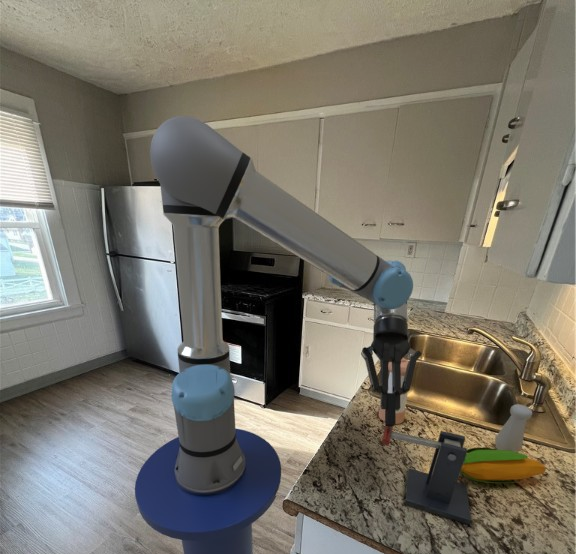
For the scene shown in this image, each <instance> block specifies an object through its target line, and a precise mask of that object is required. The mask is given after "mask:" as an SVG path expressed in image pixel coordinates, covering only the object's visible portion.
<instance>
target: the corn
mask: <svg viewBox="0 0 576 554" xmlns="http://www.w3.org/2000/svg"><path fill="white" fill-rule="evenodd" d="M546 470H547V466H545V465H544V464H543V463H541V462H540V461H539V460H536V459H532V458H529V457H528V455H527V454H524V453H520V452H513V451H505V450H498V449H497V448H491V447H484V446H483V447H471V448H467V454H466V457H465V460H464V463H463V465H462V468H461V471H460V474H461V475H462V476H464V477H465V478H467V479H470V480H472V481H475V482H478V483H479V482H480V483H487V484H514V483H515V484H516V483H518V484H519V481H515V480H523V479H527V478H531V477H536V476H539V475H543V474H544V473H545V472H546Z"/></svg>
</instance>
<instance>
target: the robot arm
mask: <svg viewBox="0 0 576 554" xmlns="http://www.w3.org/2000/svg"><path fill="white" fill-rule="evenodd" d="M150 143H151V144H150V148H149V155H150V156H149V157H150V163H151V167H152V171H153V173H154V175H155V177H156V179H157V181H158V183H159V185H160V194H161V204H162V212H163V214H162V215H163V217H165V218H166V219H167V220H168V221H169V222H170V224H171V225H172V227H173V228H172V229H173V239H174V240H173V241H174V250H175V261H176V273H177V285H178V295H179V306H180V315H181V316H180V317H181V328H182V336H183V337H182V338H183V341H182V342H181V343H180V344H179V345H178V347H177V348H176V349H177V350H176V351H177V361H178V370H179V372H178V374H177V375H176V376H175V377H174V379H173V381H172V384H171V395H170V397H171V402H172V405H173V409H174V416H175V417H174V418H175V422H176V430H177V435H178V436H177V437H179V443H180V449H179V453H178V455H177V456H176V458H177V460H176V464H175V477H176V482H177V484H178V486H179V487H180V488H181V489H182V490H183V491H185V492H187V493H189V494H192V495H196V496H213V495H217V494H221V493H223V492H226V491H228V490H229V489H231V488H233V487H234V486H235V485H236V484H238V483H239V481H240V480H241V479H242V477H243V476H244V473H245V469H246V463H245V456H244V454H243V452H242V450H241V448H240V446H239V444H238V441H237V439H236V429H237V428H236V412H235V411H236V410H235V385H234V383H233V382H234V381H233V379H232V376H231V356H230V345H229V344H228V343H227V342H226V341H225V340H223V315H222V314H223V313H222V291H221V290H222V288H221V285H222V284H221V260H220V259H221V257H220V232H219V231H220V229H219V228H220V226H221V225H222V223H223V222H225V220H228V219H235V220H236V221H238V222H240V223H242V224H244V225H245V226H247V227H248V228H250V229H251V230H253V231H255V232H257V233H258V234H260V235H261V236H263V237H265V238H267V240H269V241H271V242H273V243H275V245H278V246H280V247H281V248H283V249H285V250H286V251H288V252H290V253H292V254H293V255H294V256H296V257H297V258H300V259H301V260H303V261H304V262H306V263H307V264H309V265H311V266H312V267H314V268H315V269H317V270H319V271H321V272H322V273H324V274H326V275H327V276H328V279H329V282H330V283H331V284H333V285H335V286H336V287H337V286H338V287H339V288H340V289H341V288H343V289H345V290H347V291H350V292H352V293H353V294H356V295H358V296H360V297H361V298H364V299H366V300H367V301H369V302H371V303H373V331H372V332H373V335H372V337H373V338H372V342H371V344H370V345H369V346H368V347H366V346H364V347H362V349H361V352H360V355H361V357H362V358H363V360H364V362H365V366H366V370H367V375H368V378H369V383H370V387H371V391H372V392H373V393H377V394H379V396H380V402H379V403H380V405H379V408H380V407H381V409H384V410H385V422H384V427H385V426H390V427H393V428H394V426H396V425H397V424H396V412H395V411H398V410H399V409H400V395H402V394H406V393H407V394H408V392H409V391H410V390H411V385H412V381H413V377H414V373H415V370H414V369H415V368H416V366H417V362H418V360H419V358H420V357H421V356H422V352H421V351H419V350H417V351H416V350H414V349H413V348H411V343H410V342H409V325H408V324H409V323H408V321H409V317H408V314H409V313H408V300H409V299H410V298H411V296H412V294H413V290H414V281H413V277H412V274H410V273H409V272H408V271H407V268H406V266H405V265H404V263H403V262H402V261H399V260H394V261H393V260H392V259H391V260H390V259H388V260H385V259H383V258H382V257H380V256H379V255H377V254H376V253H374V252H373V251H372V250H370V249H369V248H367V247H366V246H364V245H363V244H362V243H360V242H359V241H357V240H356V239H355V238H353V237H352V236H351V235H349V234H348V233H346V232H345V231H343V230H342V229H340V228H339V227H337V226H336V225H334V224H333V223H332V222H330V221H329V220H327V219H326V218H325V217H323V216H322V215H321V214H319V213H318V212H316V211H315V210H313V209H311V208H310V207H309V206H308V205H306V204H304V203H303V202H302V201H300V200H299V199H297V198H296V197H295V196H293V195H291V194H290V193H289V192H288V191H286V190H285V189H283V188H282V187H280V186H278V184H276V183H274V182H273V181H272V180H270V179H268V178H267V177H266V176H264V175H263V174H262V173H260V172H259V171H258V170H257V169H256V168H255V164H254V160H253V158H252V157H250V156H249V155H247V154H246V153H245V152H243V151H242V150H241V149H239V148H238V147H237V146H236V145H234V144H233V143H232V142H230V141H229V140H228V139H227V138H225V137H224V136H223V135H221V134H220V133H219V132H218V131H216V130H215V129H214V128H212V127H211V126H210V125H209V124H207V123H206V122H203V121H202V120H200V119H198V118H195V117H193V116H186V115H178V116H172V117H170V118H168V119H166V120H165V121H163V122H162V123H161V124H160V125H159V126H158V128H157V129H156V130H155V132H154V134H153V136H152V138H151V142H150ZM374 354H375V356H376V357H377V358H378V360H379V366H380V370H379V371H380V373H379V378H378V373H377V370H376V365H375V361H374V357H373V355H374ZM406 355H407V360H408V361H409V362H408V365H407V368H406V372H405V376H404V380H403V384H402V388H401V360H402V358H405V356H406ZM389 362H392V393H388V379H389V369H388V364H389ZM379 379H380V380H379ZM235 428H236V429H235Z"/></svg>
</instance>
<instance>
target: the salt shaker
mask: <svg viewBox="0 0 576 554" xmlns="http://www.w3.org/2000/svg"><path fill="white" fill-rule="evenodd" d="M509 413H510V417H509V418H508V419H507V420H506V422H505V423H504V424H503V426H502V427H501V428H500V430H499V432H498V433H497V434H496V435H495V436H494V437H495V438H494V445H495V449H496V450H505V451H513V452H517V453H519V451H520V450H522V448H523V443H524V437H525V431H526V425H527V420H530V419H531V417H532V416H533V411H532V409H531V408H530V407H528V406H526V405H523V404H520V403H519V404H518V403H517V404H513V405H511V407H510V409H509Z"/></svg>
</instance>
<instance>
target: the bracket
mask: <svg viewBox="0 0 576 554" xmlns="http://www.w3.org/2000/svg"><path fill="white" fill-rule="evenodd" d="M444 438H446V439H450V440H455V441H460V446H461V447H458V446H454V445H450V444H446V443H442V442H443V441H444ZM437 441H438V442H441V445H440V448H439V449H437V448H434V452H433V455H432V459H431V463H430V466H429V469H428V473H427V472H424V471H421V470H418V469H417V470H416V469H413V468H410V467H409V468H407V474H406V486H405V497H404V505H405V506H409V507H412V508H415V509H418V510H421V511H424V512H427V513H431V514H434V515H436V516H440V517H443V518H447V519H449V520H453V521H456V522H459V523H462V524H465V525H468V526H470V525H471V523H472V516H471V509H470V501H469V494H468V487H467V486H468V485H467V483H464V482H460V481H458V480H459V477H460V474H461V473H460V471H461V468H462V465H463V463H464V460H465V457H466V454H468V453H467V450H468V448H466V447H464V444H465V441H466V436H465V435H460V434H456V433H453V432H448V431H443V430H440V432H439V435H438V439H437Z"/></svg>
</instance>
